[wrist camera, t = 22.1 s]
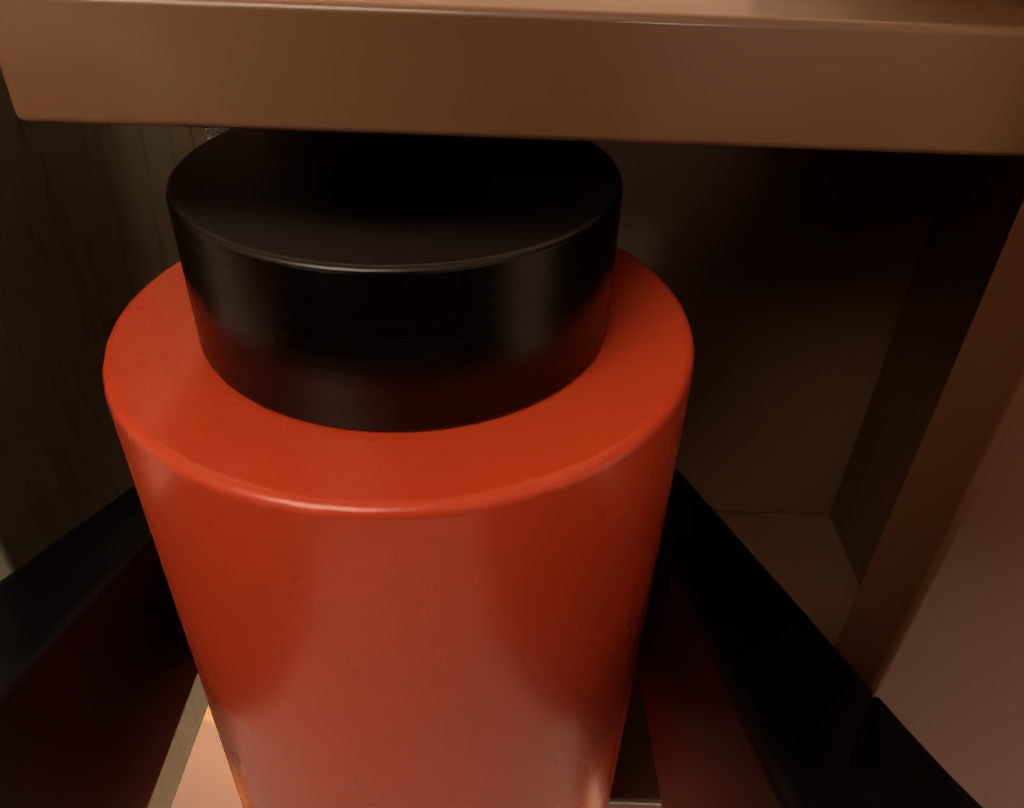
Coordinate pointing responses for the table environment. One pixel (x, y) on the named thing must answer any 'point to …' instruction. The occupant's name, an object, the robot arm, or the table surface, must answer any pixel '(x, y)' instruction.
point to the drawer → (642, 229)
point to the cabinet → (959, 562)
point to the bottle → (405, 461)
